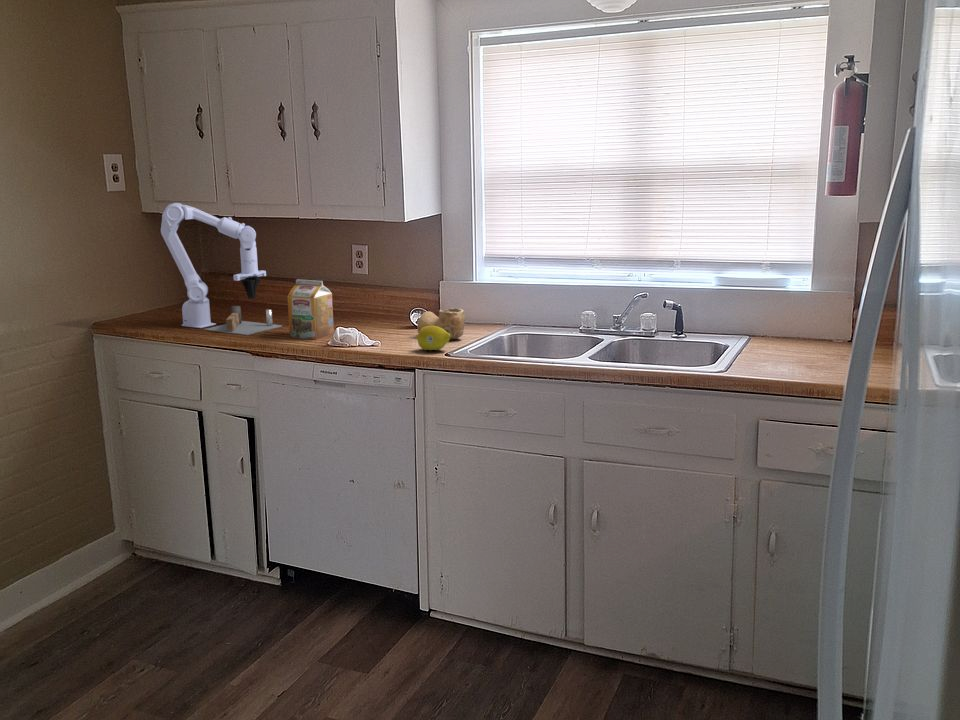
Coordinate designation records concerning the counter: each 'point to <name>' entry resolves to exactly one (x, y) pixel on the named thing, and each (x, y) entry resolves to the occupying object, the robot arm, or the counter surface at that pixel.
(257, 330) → the mat
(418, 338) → the lemon
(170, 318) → the counter surface
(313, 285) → the milk carton
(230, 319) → the bar
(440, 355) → the counter surface
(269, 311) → the hitch post
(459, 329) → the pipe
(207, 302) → the robot arm
